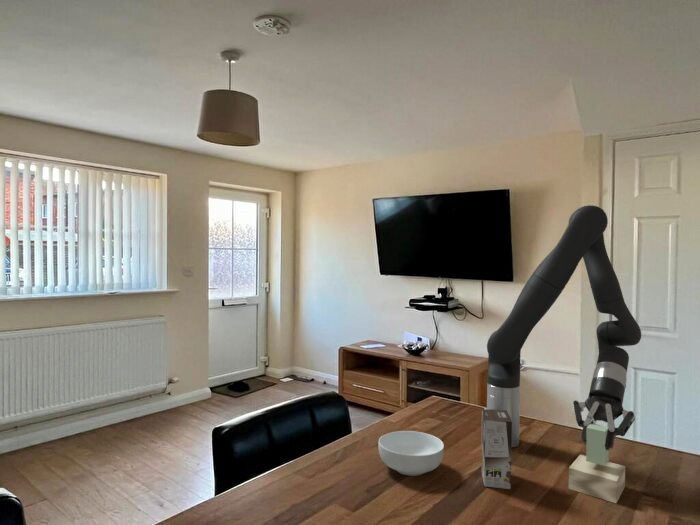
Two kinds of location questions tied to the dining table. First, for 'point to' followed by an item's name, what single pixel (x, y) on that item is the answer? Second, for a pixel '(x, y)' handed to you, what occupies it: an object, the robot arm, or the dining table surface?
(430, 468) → the cereal bowl
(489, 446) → the coffee box
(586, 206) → the robot arm
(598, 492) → the maple block
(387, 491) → the dining table surface
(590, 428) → the sage block
